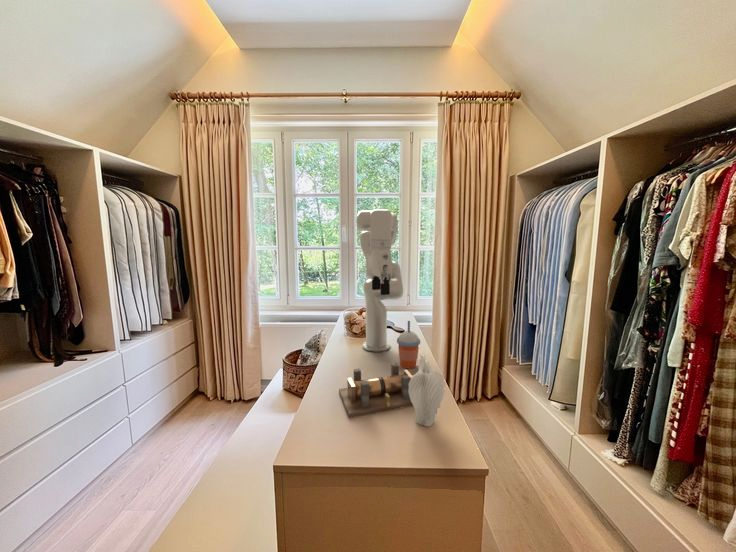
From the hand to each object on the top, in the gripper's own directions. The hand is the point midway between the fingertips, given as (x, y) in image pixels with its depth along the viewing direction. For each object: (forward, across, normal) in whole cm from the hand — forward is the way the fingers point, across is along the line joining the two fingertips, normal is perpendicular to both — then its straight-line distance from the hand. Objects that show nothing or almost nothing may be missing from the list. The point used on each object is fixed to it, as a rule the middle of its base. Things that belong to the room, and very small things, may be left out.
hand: (380, 292), depth 108 cm
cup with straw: (+31, +1, -12) cm, 33 cm away
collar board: (+30, -18, +6) cm, 36 cm away
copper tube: (+29, -18, +6) cm, 35 cm away
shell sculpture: (+31, -33, -2) cm, 45 cm away
